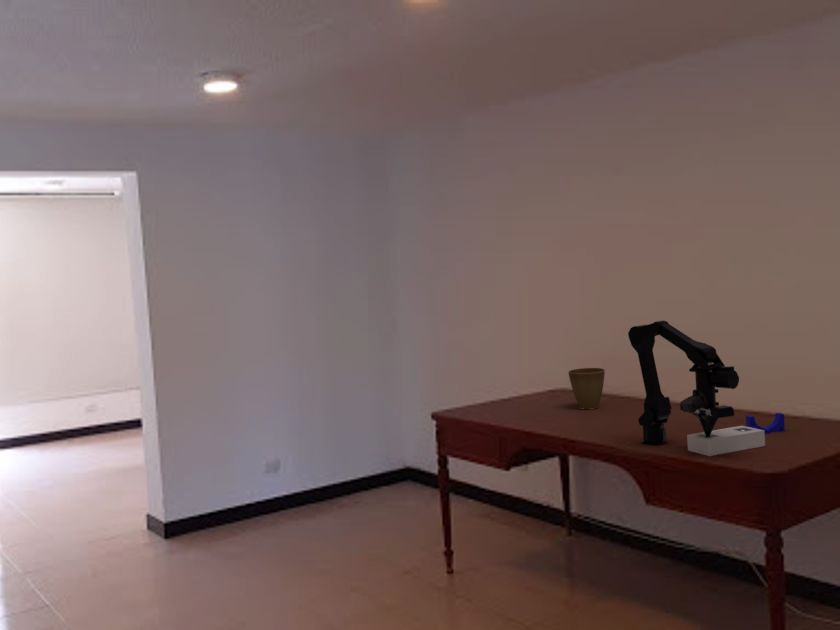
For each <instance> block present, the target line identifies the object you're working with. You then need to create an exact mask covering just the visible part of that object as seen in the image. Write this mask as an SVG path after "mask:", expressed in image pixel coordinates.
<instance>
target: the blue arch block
mask: <svg viewBox="0 0 840 630" xmlns="http://www.w3.org/2000/svg"><path fill="white" fill-rule="evenodd" d="M774 415H775V416H774V419H773V421H772V422H771V423H770V424H769V425H767V426H760V425H759V424H757V422H756V420H755V416H754V415H751V414H750V415H745V422H746V423H745V426H746V427H751V428H755V429H760V430H764V432H765V435H768V434H769V435H770V434H771V433H779V432H781V433H782V432H785V431H786V428H785V427H786V426H785V414H784V413H782V412H776V413H775V414H774Z"/></svg>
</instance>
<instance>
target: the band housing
mask: <svg viewBox="0 0 840 630" xmlns="http://www.w3.org/2000/svg"><path fill="white" fill-rule="evenodd" d="M739 428H747V429H750V431H744V432H741V431H737V430H736V429H739ZM704 434H705V432H704V431H702V432H697V433H690V434H687V435H686V437H687V438H686V439H687V442H686V443H687V451H689V452H693V453H697V454H700V455H702V456H704V455H705V456H707V457H713V456H718V454H719V455H722V454H723V455H724V454H729V453H733V452H734V453H735V452H740V451H745V450H750V449H757V448H762V447H766V434H765V432H764V430H760V429H755V428H751V427H746V425H737V426H731V427H726V428H720V429H715V430H714V429H713V430H712V432H711V434H712V435H715V437H710V438H705V437H701V435H704Z"/></svg>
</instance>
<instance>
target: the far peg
mask: <svg viewBox="0 0 840 630" xmlns="http://www.w3.org/2000/svg"><path fill="white" fill-rule="evenodd" d="M736 430H737V431H741V432H744V431H750V429H747V428H739V429H736Z"/></svg>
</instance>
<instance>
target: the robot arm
mask: <svg viewBox="0 0 840 630" xmlns="http://www.w3.org/2000/svg"><path fill="white" fill-rule="evenodd" d="M627 334H628V340H629V341H630V345H631V347H632V348H633V349H634V351H635V352H636V353H637V357H638V362H639V367H640V372H641V376H642V381H643V386H644V390H645V391H644V392H645V397H644V398H645V399H644V402H643V413H641V415H640V416H639V418H638V419H637V421H638V424H639V426H642V431H643V432H642V433H643V440H642V441H641V444H647V445H648V444H649V445H661V444H664V443H666V442H667V441H668V439H667V429H666V427H665V424H668V421H669V417H670V415H671V413H672V411H671V410H672V409H673V407H672V406H671V400H670V396H665V395H664V394H663V392H662V389H661V385H660V381H659V380H660V379H659V375H658V371H657V365H656V361H655V356H654V351H653V350H654V346H655V344H656V336H660V337H662V338H663V339H665V340H666V341H667V342H668V343H671V344H672V345H673V346H675V347H677V348H678V349H679V350H681V351H682V352H683V353H685V356H686V357H687V359H688V360H689V361H691V363H692V364H693V365H692V366H691V367H690V368H689V369H688V371H689V372H693V373H695V389H692V395H690V396H688V397H686V398H685V399H683V400H681V401H680V404H679V405H680V407H679V409H680V410H681V411H683V413H689V414H692V416H695V418H697V419H698V421H699V422H700V424H701V427H702V429H703V432H705V435H706V436H710V434H711V432H712V431H713V430H714V429H715V428H714V427H715V426H716V423H717V422H718V419H721V418H729V417H734V416H735V408H734V407H732V406H730V405H725V404H723V405H720V403H719V401H716V400H717V397H716V396H717V395H716V394H717V393H719V389H718V388H720V389H729V390H735V389H736V388H737V387H738V386H739V383H740V377H739V374H738V373H737V371H736V370H735V366H732V365H731V366H726V365H725V364H724V362H723V360H722V359H721V358H720V356H719V355H718V353H717V350H716V348H715V347H714V346H712V345H710V344H708V343H705V342H701V341H697V340H695V339H693V338H692V337H689V336H688V335H687V334H685V333H684V332H682V331H680V330H679V329H678V328H676V327H675V326H672V324H669V322H668V321H667V320H658V321H654V322H652V323H650V324H641V325H635V326H631V328H630V329H629V330H628V333H627Z"/></svg>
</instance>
